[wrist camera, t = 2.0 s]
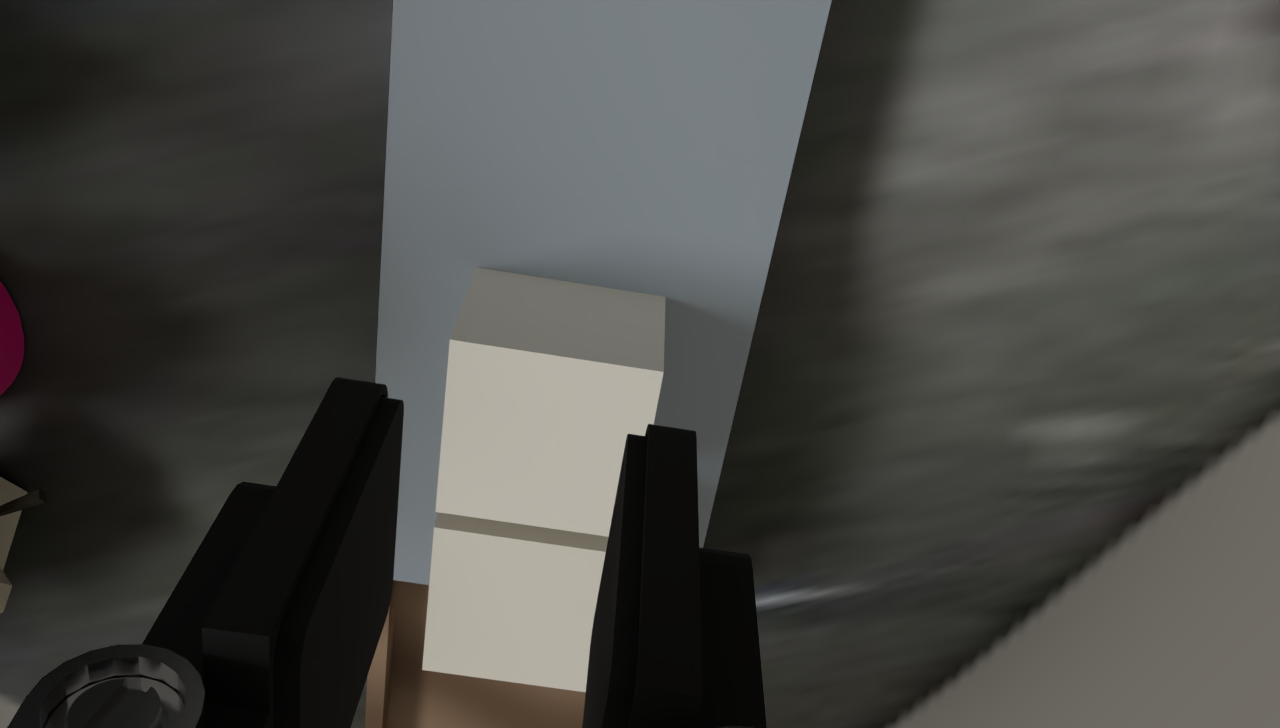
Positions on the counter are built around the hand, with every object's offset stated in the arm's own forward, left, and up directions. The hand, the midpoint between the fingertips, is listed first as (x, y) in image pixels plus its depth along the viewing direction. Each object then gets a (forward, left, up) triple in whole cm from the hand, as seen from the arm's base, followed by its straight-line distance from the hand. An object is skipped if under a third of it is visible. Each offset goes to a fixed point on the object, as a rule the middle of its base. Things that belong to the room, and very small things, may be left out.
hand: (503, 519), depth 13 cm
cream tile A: (+8, 0, -17) cm, 18 cm away
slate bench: (+6, 0, -19) cm, 20 cm away
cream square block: (+13, 0, -17) cm, 21 cm away
